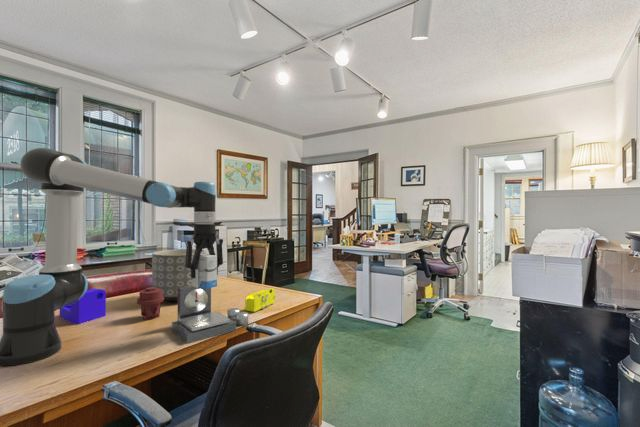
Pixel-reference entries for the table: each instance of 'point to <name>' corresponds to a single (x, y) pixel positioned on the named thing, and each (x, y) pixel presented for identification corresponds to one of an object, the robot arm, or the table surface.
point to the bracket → (86, 307)
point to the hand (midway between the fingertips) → (204, 285)
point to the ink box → (207, 271)
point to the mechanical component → (150, 302)
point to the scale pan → (204, 321)
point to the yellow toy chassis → (260, 300)
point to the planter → (171, 272)
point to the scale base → (195, 304)
